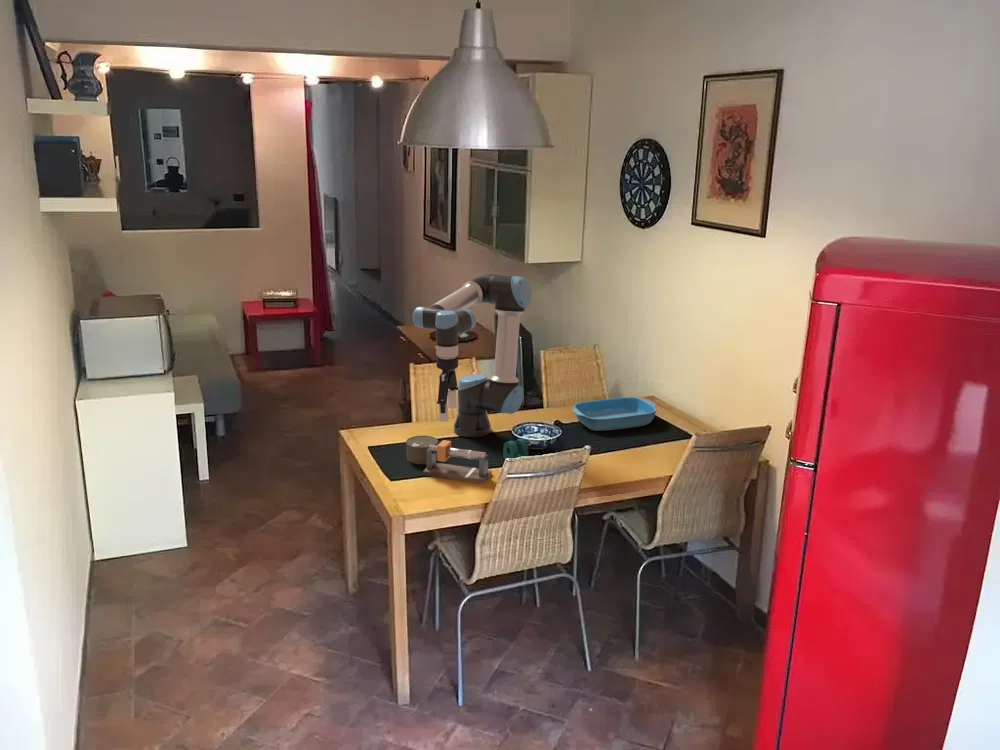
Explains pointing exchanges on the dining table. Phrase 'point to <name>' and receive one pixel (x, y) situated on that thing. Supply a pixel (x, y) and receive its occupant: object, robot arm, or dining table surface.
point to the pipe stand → (458, 471)
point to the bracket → (515, 448)
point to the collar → (443, 451)
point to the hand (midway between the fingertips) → (448, 414)
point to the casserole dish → (615, 413)
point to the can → (419, 448)
